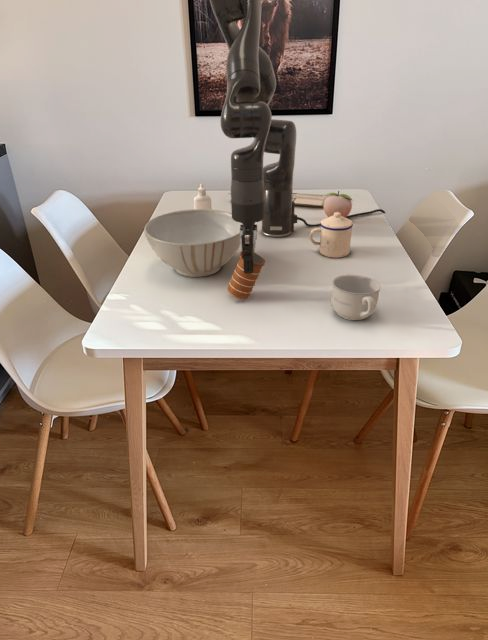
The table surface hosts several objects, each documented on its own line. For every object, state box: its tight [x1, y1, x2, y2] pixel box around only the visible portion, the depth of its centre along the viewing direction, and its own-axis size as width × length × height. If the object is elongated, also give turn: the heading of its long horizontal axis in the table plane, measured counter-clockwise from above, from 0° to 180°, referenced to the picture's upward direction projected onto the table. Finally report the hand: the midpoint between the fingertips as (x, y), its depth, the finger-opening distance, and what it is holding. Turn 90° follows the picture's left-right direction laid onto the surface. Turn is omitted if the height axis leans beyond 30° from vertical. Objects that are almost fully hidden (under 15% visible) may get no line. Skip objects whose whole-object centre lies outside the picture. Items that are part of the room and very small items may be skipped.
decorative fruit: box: [323, 190, 353, 217], centre depth 181 cm, size 9×8×10 cm
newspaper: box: [227, 192, 329, 208], centre depth 201 cm, size 35×12×4 cm, turn 76°
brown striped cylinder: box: [227, 250, 266, 300], centre depth 135 cm, size 10×6×6 cm
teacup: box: [330, 274, 381, 321], centre depth 127 cm, size 14×11×8 cm
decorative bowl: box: [143, 208, 243, 278], centre depth 151 cm, size 27×27×12 cm
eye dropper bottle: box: [193, 183, 213, 210], centre depth 183 cm, size 4×6×12 cm
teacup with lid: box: [308, 212, 354, 259], centre depth 159 cm, size 12×9×12 cm
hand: (249, 266), depth 134 cm, fingers closed on brown striped cylinder, 6 cm apart
